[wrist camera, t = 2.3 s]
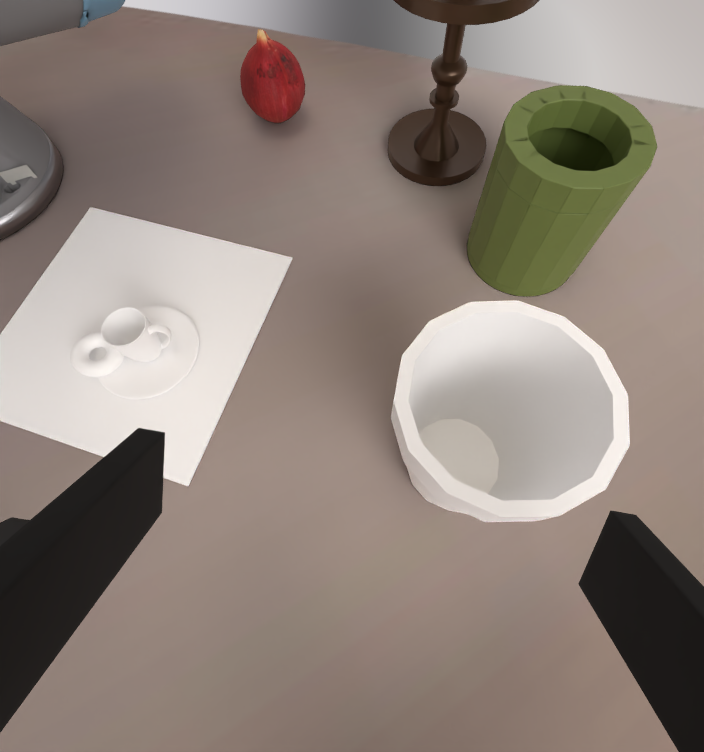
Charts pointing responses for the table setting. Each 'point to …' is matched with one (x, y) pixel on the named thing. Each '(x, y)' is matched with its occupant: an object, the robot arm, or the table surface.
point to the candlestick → (446, 98)
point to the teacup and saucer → (135, 337)
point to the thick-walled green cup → (556, 185)
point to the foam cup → (508, 413)
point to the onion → (272, 80)
